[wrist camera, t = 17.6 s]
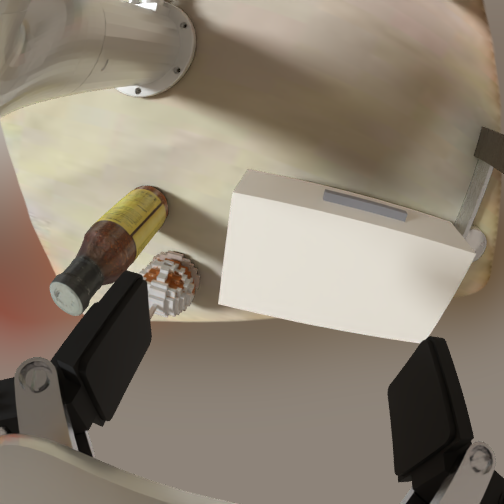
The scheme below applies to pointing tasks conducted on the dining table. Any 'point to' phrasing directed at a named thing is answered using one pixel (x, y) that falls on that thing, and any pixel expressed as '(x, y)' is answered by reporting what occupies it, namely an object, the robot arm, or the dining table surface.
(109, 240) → the sauce bottle
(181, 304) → the decorative ornament
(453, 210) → the dining table surface
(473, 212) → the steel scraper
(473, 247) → the steel puck
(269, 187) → the cabinet
